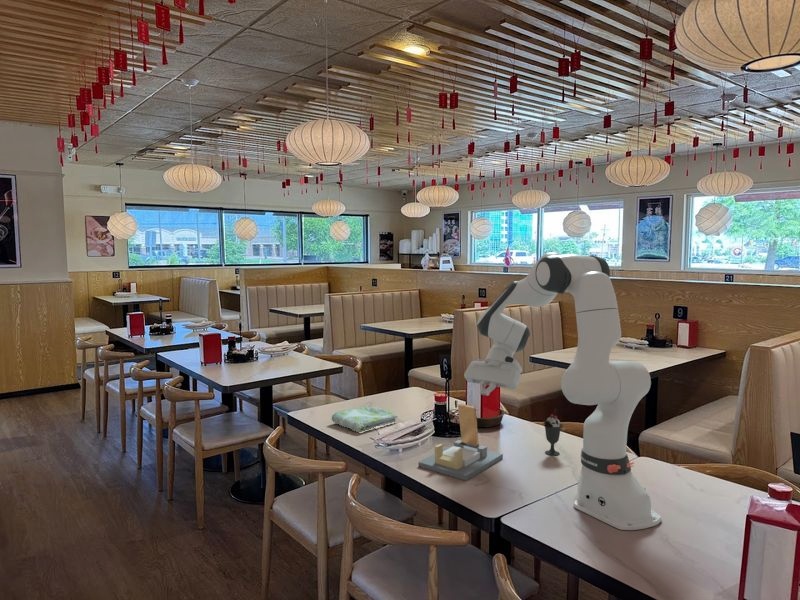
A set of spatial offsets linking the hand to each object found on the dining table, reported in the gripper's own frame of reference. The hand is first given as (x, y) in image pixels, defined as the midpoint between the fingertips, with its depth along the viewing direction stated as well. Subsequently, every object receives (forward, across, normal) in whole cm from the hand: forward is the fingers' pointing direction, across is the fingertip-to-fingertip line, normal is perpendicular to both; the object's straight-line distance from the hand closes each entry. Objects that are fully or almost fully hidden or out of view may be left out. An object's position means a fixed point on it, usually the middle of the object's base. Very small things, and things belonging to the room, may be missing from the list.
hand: (483, 394), depth 187 cm
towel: (+17, -54, +12) cm, 57 cm away
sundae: (+6, +20, +23) cm, 31 cm away
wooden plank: (+17, 0, +5) cm, 18 cm away
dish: (-5, -16, +34) cm, 38 cm away
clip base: (+24, 0, +4) cm, 24 cm away
